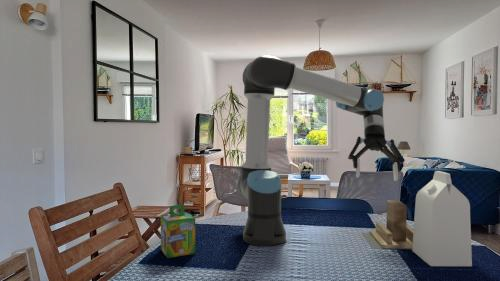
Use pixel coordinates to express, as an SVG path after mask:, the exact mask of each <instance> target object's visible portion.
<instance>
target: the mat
mask: <svg viewBox="0 0 500 281" xmlns="http://www.w3.org/2000/svg"><path fill="white" fill-rule="evenodd" d="M360 233H361V235H362V237H363V238H364V239H365V241H366V242H367V243H368V244H369V246H370V247H371V249H380V250H383V249H384V250H389V249H390V250H393V249H394V250H410V249H409V248H381V247H380V245H379V244H378V243H377V242H376V241H375V239H374V238H373V237H372V236H371V235H370V232H360Z"/></svg>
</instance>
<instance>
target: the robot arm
mask: <svg viewBox="0 0 500 281" xmlns="http://www.w3.org/2000/svg"><path fill="white" fill-rule="evenodd" d="M242 82H243V85H244V88H243V89H244V90H243V94H244V95H243V96H244V97H246V99H247V110H246V111H247V112H246V113H247V114H246V116H247V117H246V138H245V139H246V140H245V161H244V163H243V164H241V166H240V176H239V179H238V189H239V191H240V193H241V194H242V196H243V197H244V198H245V199H247V218H246V222H245V225H244V228H243V232H242V240H243V241H244V242H245V243H247V244H249V245H254V246H260V247H261V246H262V247H267V246H268V247H269V246H277V245H281V244H283V243H285V242H286V241H287V232H286V229H285V226H284V225H285V224H284V223H283V219H282V186H283V184H282V180H281V175H280V174H279V173H278V172H276V171H272V165H270V164H269V162H268V161H269V160H268V159H269V139H270V138H269V137H270V135H269V134H270V133H269V132H270V117H271V116H270V115H271V111H270V110H271V109H270V108H271V100H272V99H273V98H274V97H275V91H276V90H275V89H281V90H285V91H288V90H289V89H291V90H295V91H299V92H301V93H305V94H308V95H312V96H315V97H319V98H321V99H322V98H323V99H325V100H330V101H332V102H335V107H337V108H338V109H340V110H342V111H347V112H349V113H353V114H357V115H359V116H363V128H364V131H363V132H364V134H363V135H364V138H362V137H361V136H357V138H356V141H355V144H354V146H353V148H352V149H351V151H350V152H349V155H348V157H347V159H348V160H351V161H352V167H353V169H355V175H356V177H355V178H359V177H360V175H361V166H360V165H361V162H360V158H361V157H362V156H363V155H364V154H365V153H366V152H367V151H369V150H370V151H376V152H379V151H380V152H381V153H382V154H384V155H385V157H386V158H388V159H389V160H390V161H391V163H392V172H393V181H394V182H397V181H398V180H399V173H400V172H401V165H402V164H404V162H405V161H406V160H405V158H404V157H403V155H402V154H401V152H400V150H399V148H398V147H397V146H396V144H395V140H394V139H390V140H386V134H385V133H386V132H385V122H384V108H383V107H384V106H383V105H384V102H385V97H384V94H383V93H382V91H381V90H379V89H373V88H372V89H367V88H364V87H361V86H359V85H358V86H357V85H354V84H351V83H348V82H346V81H345V82H344V81H341V80H338V79H336V78H332V77H328V76H325V75H322V74H320V73H317V72H314V71H313V72H312V71H309V70H306V69H303V68H300V67H297V65H296V64H295V63H294V62H291V61H287V60H285V59H282V58H279V57H277V56H271V55H260V56H258V57H256V58H254V59H253V61H251V62H249V63H248V64H247V65H246V66H245V68H244V70H243V73H242ZM362 143H363V144H364V145H365V146H364V147H362V149H360V150H359V151H358V152H357V150H358V147H359V146H360V145H361V144H362ZM356 152H357V153H356ZM355 153H356V154H355Z"/></svg>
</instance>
